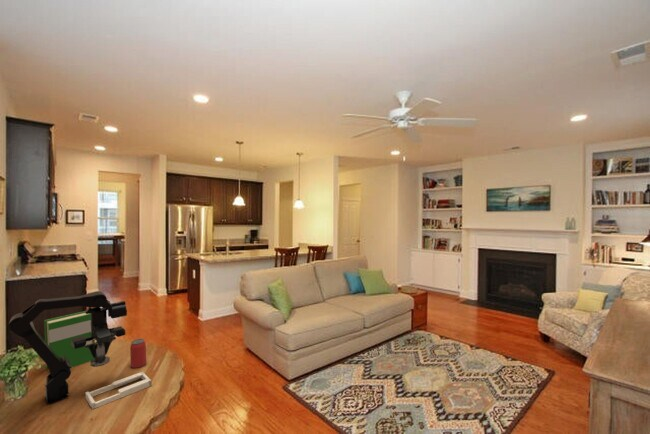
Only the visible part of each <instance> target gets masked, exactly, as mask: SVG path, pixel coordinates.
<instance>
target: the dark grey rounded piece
mask: <svg viewBox="0 0 650 434" xmlns="http://www.w3.org/2000/svg"><path fill="white" fill-rule="evenodd" d="M94 352H95V358H94V360H92V361H90V362H89V365H90V366H91V367H93V368H96V367H97V368H98V367H101V366H104V365H107V364H108V363H110V361H111V358H110V357H109V356H107V354H105V342H103V343H101V344H98V343H97V341H95V343H94Z"/></svg>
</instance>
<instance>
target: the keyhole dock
mask: <svg viewBox="0 0 650 434" xmlns="http://www.w3.org/2000/svg"><path fill="white" fill-rule="evenodd" d="M140 379H141V380H140ZM139 380H140V381H139ZM135 381H138V382H136V383H133V382H135ZM130 383H133V384H130ZM127 384H130V385H127ZM125 385H126V386H125ZM121 386H124V387H122V388H120V389H118V390H117V392H118V393H116V394H113V395H111V396H108V397H105V398H103V399H100V400H98V401H95V400H94V397H95V396H97V395H100V394H102V393H105V392H109V391H111V390H113V389H117V388H119V387H121ZM151 386H152V379H150V377H149V376H147V374H145V372H143V371H141V372H138V373H135V374H132V375H129V376H127V377H124V378H121V379H118V380H115V381H113V382H111V383H110V384H109V385H105V386H103V387H100V388H98V389H94V390H92V391H86V392H85V399H86V401H87V403H88V405H89V406H90V408H91V409H92V410H95V409H97V408H99V407H101V406H104V405H107V404H109V403H112V402H114V401H117V400H119V399H121V398H124V397H127V396H129V395H131V394H134V393H137V392H140V391H142V390H145V389H147V388H149V387H151Z"/></svg>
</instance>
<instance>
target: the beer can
mask: <svg viewBox="0 0 650 434" xmlns="http://www.w3.org/2000/svg"><path fill="white" fill-rule="evenodd" d="M146 346H147V343H146V341H145V339H144V338H138V339H133V340H132V341H131V344H130V351H129V352H130V354H129V355H130V367H131V368H134V369H137V368H142V367H144V366H145V365H146V364H147V347H146Z"/></svg>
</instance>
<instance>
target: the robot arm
mask: <svg viewBox="0 0 650 434" xmlns="http://www.w3.org/2000/svg"><path fill="white" fill-rule="evenodd" d="M75 307H76V308H77V307H84V308H87V309H85V310H84V311H85V313H86V314H89V313H91V337H87V338H84V337H83V336H81V337H77V338H73V339H72V341H71V345H72V346H73V348H74V349H77V348H81V347H88V348H89V350H90V352H91V354H92V356H93V358H95V352H94V344H93V343H92V341H94V340H95V342H97V343H98V344H101V343H103V342H105V354H106V355H108V352H109V348H110V346H111V343H113V341H114V340H116V339H117V338H119V337H123V336H125V335H126V329H125V328H124V327H122V326H120V325H119V326H116V327H115V326H114V327H112V328H111V327H110V328H109V324H108V320H107V318H110V319H112V320H113V319H117V318H122V317H126V316H128V309H127V306H126V301H125V300H121V301H118V302H117V301H116V302H110V301H109V300H108V298H107V296H106V294H105V293H104V292H103V291H99V290H97V291H93V292H89V293H86V294H82V295H78V296H65V297H52V298H40V299H38V300H36V301H35V302H34V303H33V304H32V305H30V306H29V307H27V308H25V309H24V310H23V311H21V312H19V313H16V314H14V315H13V316H11V318H10V320H9V323H8V326H7V327H8V329H9V331H10V332H12V334H14V335H15V336H17V337H19V338H21V339H23V340H25V341H26V343H27V344H28V345H29V346H30V348H32V349H33V350H34V352H35V353H36V354H37V356H39V357H40V359H41V360H42V361H43V362H44V363H45V365H46V364H47V366H48V368H49V369H48V371H49V374H48V375H47V376H46V381H45V382H46V383H45V385H44V386H45V387H44V388H45V389H44V390H45V397H44V399H45V402H46V404H47V405H50V404H54V403H57V402H59V401H62V400H64V399H67V398H68V397H69V395H68V394H69V384H68V382H67V380H68V379H69V378H70V376H71V374H72V368H71V361H68V360H67V358H66V356H65V355H64V356H63V357H62V358H61V357H59V356H57V355H56V354H55V352H54V351H53V350H52V349H51V348H50V347H49V345H48V344H47V343H46V342H45V338H43V337H42V336H41V334H39V333H38V331H37V330H36V328H35V325H34V324H35V323H34V322H33V321H34V320H35V319H36V318H37V317H38V316H39V315H40V314H41V313H42V312H44V311H48V310H58V309H66V308H75ZM107 316H108V317H107Z"/></svg>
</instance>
